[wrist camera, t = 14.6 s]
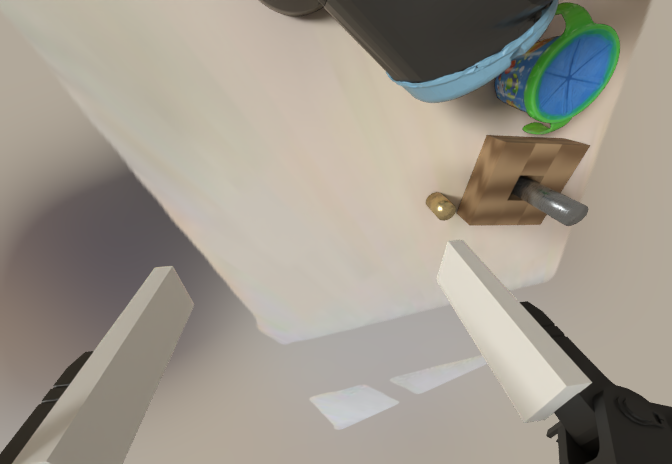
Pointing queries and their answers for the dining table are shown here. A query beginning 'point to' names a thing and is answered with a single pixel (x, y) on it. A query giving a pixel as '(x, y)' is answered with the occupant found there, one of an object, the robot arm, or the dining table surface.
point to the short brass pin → (440, 206)
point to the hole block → (516, 177)
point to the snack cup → (561, 71)
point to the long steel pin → (549, 201)
